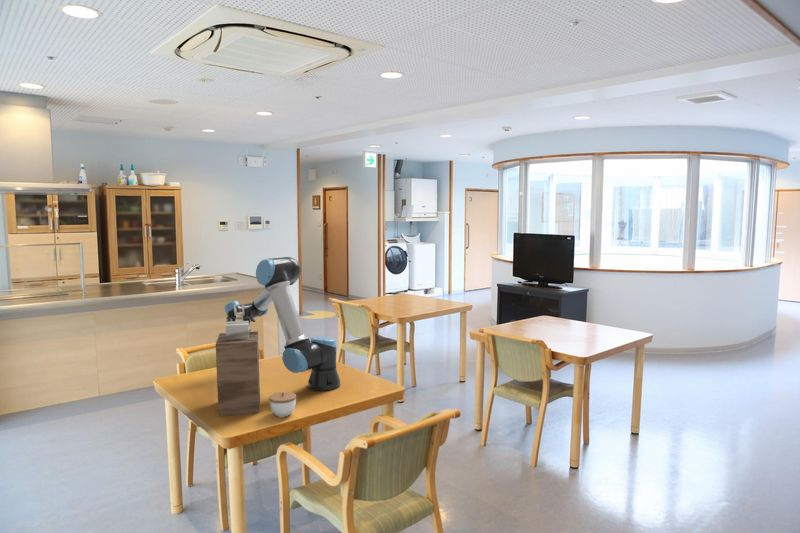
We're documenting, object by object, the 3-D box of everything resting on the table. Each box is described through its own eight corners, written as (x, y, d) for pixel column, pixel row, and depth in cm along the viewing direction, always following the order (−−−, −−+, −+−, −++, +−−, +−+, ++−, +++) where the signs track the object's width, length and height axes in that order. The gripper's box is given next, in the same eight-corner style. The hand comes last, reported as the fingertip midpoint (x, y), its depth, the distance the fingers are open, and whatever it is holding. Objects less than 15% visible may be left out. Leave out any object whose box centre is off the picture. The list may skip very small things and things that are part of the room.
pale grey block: (248, 338, 227) (248, 324, 226) (226, 339, 225) (225, 325, 224) (250, 321, 254) (250, 308, 253) (230, 322, 252) (229, 309, 251)
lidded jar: (264, 415, 221) (263, 393, 220) (283, 407, 230) (282, 386, 229) (283, 421, 215) (282, 398, 214) (302, 413, 224) (301, 390, 223)
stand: (259, 412, 225) (256, 341, 221) (218, 416, 221) (215, 343, 218) (260, 397, 243) (257, 331, 240) (222, 400, 239) (219, 333, 236)
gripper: (258, 331, 264) (257, 315, 243) (224, 332, 260) (220, 316, 239) (258, 316, 267) (257, 299, 246) (224, 317, 263) (220, 300, 242)
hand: (238, 307), depth 242 cm, fingers closed on pale grey block, 3 cm apart
